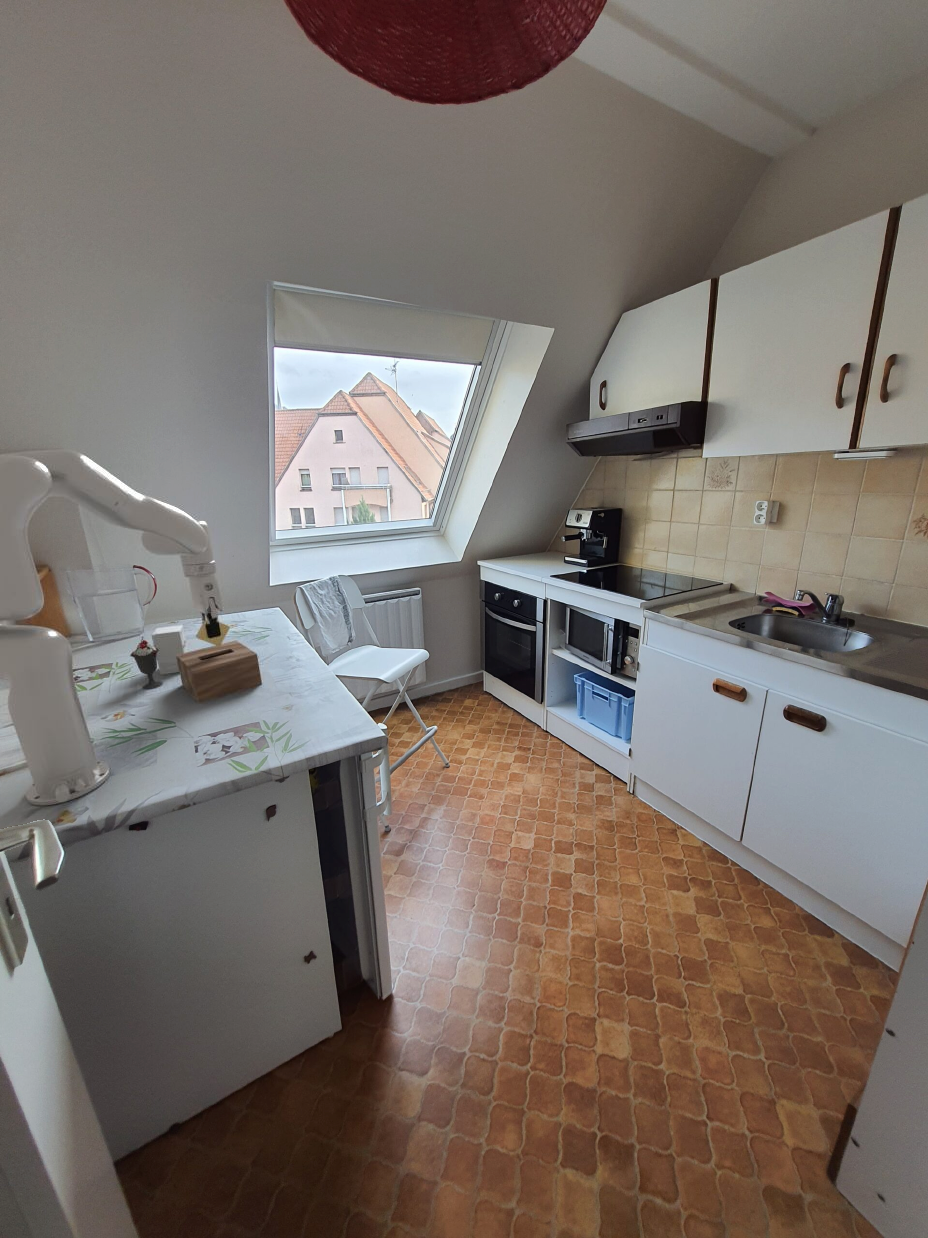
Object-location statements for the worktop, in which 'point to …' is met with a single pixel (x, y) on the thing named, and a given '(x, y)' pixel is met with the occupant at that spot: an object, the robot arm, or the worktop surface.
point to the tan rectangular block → (216, 640)
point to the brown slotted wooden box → (218, 670)
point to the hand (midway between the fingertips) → (213, 635)
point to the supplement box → (169, 647)
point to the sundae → (147, 662)
